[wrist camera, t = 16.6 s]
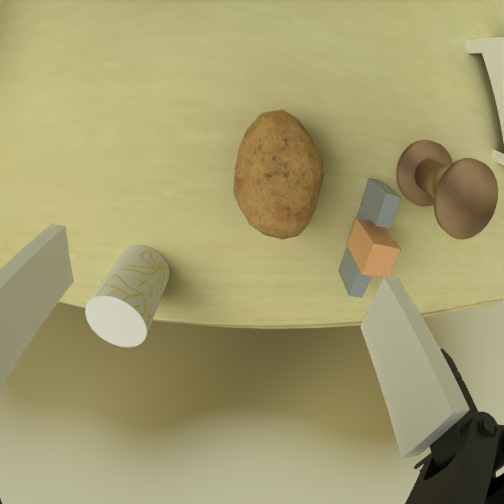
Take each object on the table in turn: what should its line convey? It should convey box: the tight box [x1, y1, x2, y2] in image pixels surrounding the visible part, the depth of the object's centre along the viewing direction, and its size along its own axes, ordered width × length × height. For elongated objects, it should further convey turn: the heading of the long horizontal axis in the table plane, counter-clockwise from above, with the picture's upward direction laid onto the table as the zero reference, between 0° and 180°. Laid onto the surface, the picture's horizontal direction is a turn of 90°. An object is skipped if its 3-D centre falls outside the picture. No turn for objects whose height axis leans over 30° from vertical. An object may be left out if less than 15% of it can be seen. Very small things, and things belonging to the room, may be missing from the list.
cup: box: [85, 245, 170, 347], centre depth 38 cm, size 8×8×12 cm
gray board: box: [339, 179, 401, 297], centre depth 37 cm, size 14×2×6 cm, turn 170°
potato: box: [234, 110, 323, 239], centre depth 32 cm, size 10×14×8 cm
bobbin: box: [397, 140, 498, 239], centre depth 30 cm, size 9×9×11 cm
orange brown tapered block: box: [347, 218, 401, 278], centre depth 35 cm, size 4×4×7 cm
